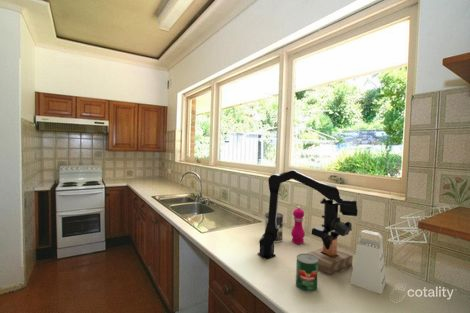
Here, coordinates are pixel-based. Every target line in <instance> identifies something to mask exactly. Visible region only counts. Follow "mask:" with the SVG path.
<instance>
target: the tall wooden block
mask: <svg viewBox="0 0 470 313" xmlns="http://www.w3.org/2000/svg"><path fill="white" fill-rule="evenodd" d="M322 248H323V252H324V253H326V254H329V255H331V256H334V255H337V249H338V238H337V239H336V238H333V237H332V238H330V244H329V249H326V248H325V245H324V243H323V242H322Z"/></svg>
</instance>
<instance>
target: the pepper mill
mask: <svg viewBox="0 0 470 313" xmlns="http://www.w3.org/2000/svg"><path fill="white" fill-rule="evenodd" d="M292 215H293V220H294V226H293V228H292V230H291V233H290V234H291V237H292V238H291V242H292V243H294V244H298V245H299V244H300V245H302V244H304V243H305V242H304V241H305V239H304V238H305V237H306V235H305V234H306V233H305V230H304V227H303V221H304V217H305V212H304V210H303V209H301V206H299V205H298V206H297V207H296V208H295V209H294V210H293V212H292Z"/></svg>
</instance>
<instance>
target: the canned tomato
mask: <svg viewBox="0 0 470 313" xmlns="http://www.w3.org/2000/svg"><path fill="white" fill-rule="evenodd" d="M295 265H296V266H295V268H296V269H295V270H296V271H295V273H296V274H295V287H296V288H297V289H298V290H299V291H302V292H303V293H315V292H316V291H317V290H318V280H319V279H318V278H319V276H318V274H319V273H318V272H319V270H318V258H317V257H316V256H314V255H311V254H307V253H299V254H297V255H296V264H295Z"/></svg>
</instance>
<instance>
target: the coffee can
mask: <svg viewBox="0 0 470 313" xmlns="http://www.w3.org/2000/svg"><path fill="white" fill-rule="evenodd" d="M268 215H269V212H266V213H264V231H265V230H266V226H267V223H268ZM276 222H277V225H280V227H279V235H278V238H276V240H275V241H274V243H281V242H282V241H283V240H284V239H283V238H284V235H283V233H284V232H283V230H284V214H283V213H281V212H277V219H276Z"/></svg>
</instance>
